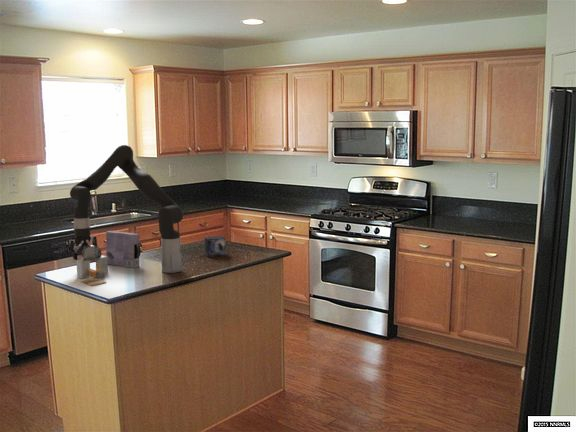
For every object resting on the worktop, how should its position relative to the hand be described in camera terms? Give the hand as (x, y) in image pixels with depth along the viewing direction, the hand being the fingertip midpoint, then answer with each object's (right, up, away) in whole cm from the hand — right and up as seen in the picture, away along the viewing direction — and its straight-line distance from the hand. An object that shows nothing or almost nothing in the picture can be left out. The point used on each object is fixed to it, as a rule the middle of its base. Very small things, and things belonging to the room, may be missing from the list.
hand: (83, 258), depth 294 cm
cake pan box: (+16, -5, +15) cm, 22 cm away
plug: (+5, -8, -4) cm, 10 cm away
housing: (+6, -8, -4) cm, 11 cm away
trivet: (+10, -10, -16) cm, 22 cm away
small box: (+61, -1, +38) cm, 72 cm away
